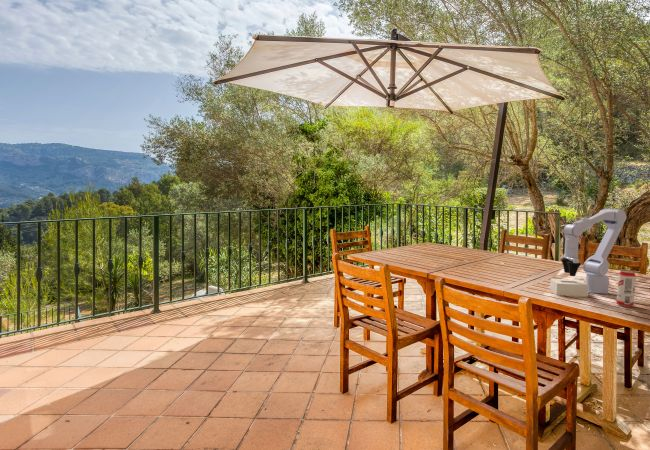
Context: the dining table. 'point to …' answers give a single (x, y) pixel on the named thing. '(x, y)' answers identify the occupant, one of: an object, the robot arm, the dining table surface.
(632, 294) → the beer can
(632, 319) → the dining table surface
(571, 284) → the box
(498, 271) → the dining table surface
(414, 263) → the dining table surface
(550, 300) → the dining table surface
